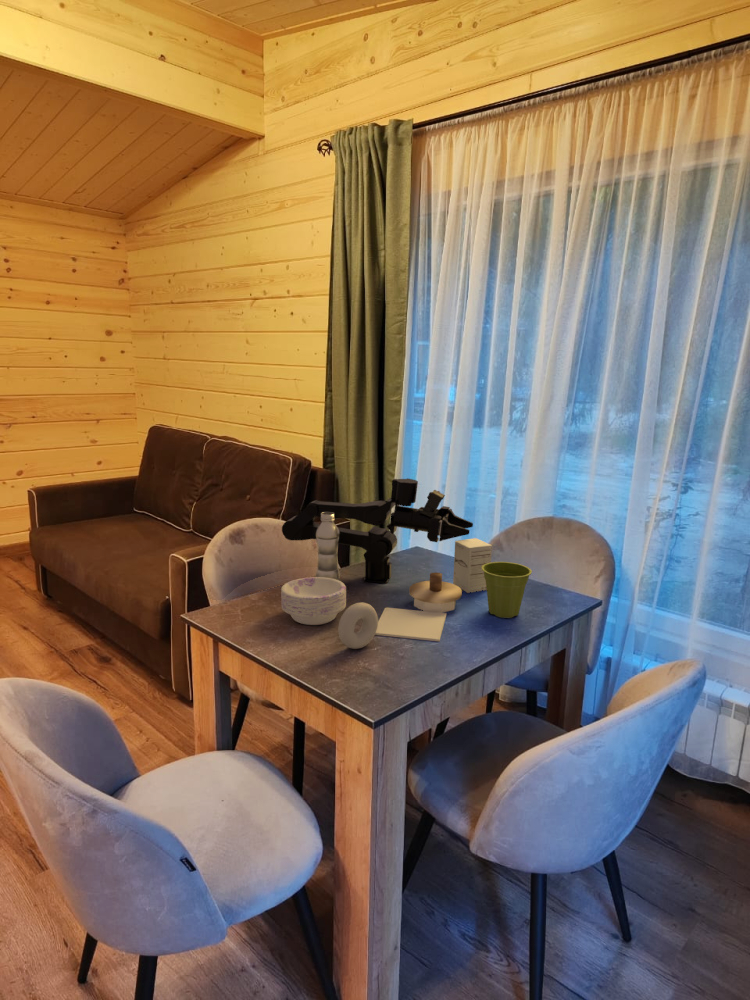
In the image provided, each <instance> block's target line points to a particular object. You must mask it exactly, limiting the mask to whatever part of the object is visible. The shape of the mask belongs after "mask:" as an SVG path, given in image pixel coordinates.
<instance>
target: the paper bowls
mask: <svg viewBox="0 0 750 1000" xmlns="http://www.w3.org/2000/svg"><path fill="white" fill-rule="evenodd" d="M280 592H281V593H280V595H281V596H280V597H281V598H280V600H281V603H280V604H281V609H282V611H283V612H285V613H286V614H288V615H290V616H291V618H292V619H293V621H295V622H296V623H300V624H302V625H306V626H309V625H310V626H318V625H324V624H327V623H330V622H332V621H333V620H335V618H336V617H337V615H338V613H341V612H342V611H344V610H345V608H346V607H347V585H345V583H344V582H342V581H341V580H340V579H339V580H336V579H331V578H324V577H316V576H314V577H313V576H310V577H301V578H297V579H293V580H290V581H288V582H286V583H284V584H283V585H282V586H281V589H280Z"/></svg>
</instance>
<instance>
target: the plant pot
mask: <svg viewBox="0 0 750 1000" xmlns="http://www.w3.org/2000/svg"><path fill="white" fill-rule="evenodd" d="M482 570H483V571H484V577H485V580H486V589H487V590H486V597H487V598H486V599H487V606H488V612H489V613H490V614H491V615H494V616H496V617H499V618H506V619H511V618H515V616H518V615H519V614H520V610H521V606H522V601H523V597H524V595H525V589H526V585H527V583H528V581H529V577H530V575H532V572H533V570H532V569H531V568H529V566H526V565H523V564H520V563H515V562H509V561H493V562H492V561H491V563H487V564H484V565H483V566H482Z"/></svg>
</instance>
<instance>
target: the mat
mask: <svg viewBox="0 0 750 1000" xmlns="http://www.w3.org/2000/svg"><path fill="white" fill-rule="evenodd" d="M446 619H447V612H443V613H439V612H428V611H422V610H418V609H417V610H415V609H414V610H413V609H406V608H396V607H395V608H394V607H384V609H383V611H382V614H381V615H380V617H379V618H378V627H377V630H376V633H375V635H374V636H385V637H392V638H393V637H394V638H402V639H403V638H404V639H413V640H421V641H432V642H440V640H441V637H442V633H443V629H444V627H445V626H444V625H445V623H446V622H445V621H446Z"/></svg>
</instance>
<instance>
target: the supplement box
mask: <svg viewBox="0 0 750 1000" xmlns="http://www.w3.org/2000/svg"><path fill="white" fill-rule="evenodd" d="M492 549H493V546H492V544H490V543H487V542H485V541H484V540H481V539H479V538H477V537H475V538H468V539H467V538H466V539H459V540H455V541H454V556H453V558H454V561H453V574H452V575H453V578H452V579H453V580H452V582H453V583H452V584H454V585H457V586H458V587H460V588H461V590H462V591H465V592H466V593H467V594H469V593H470V592H471V593H476V591H477V592H482V590H483V591H487V589H486V580H485V577H484V571H483V570H482V566H483V565H484V564H487V563H491V562H492Z"/></svg>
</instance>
